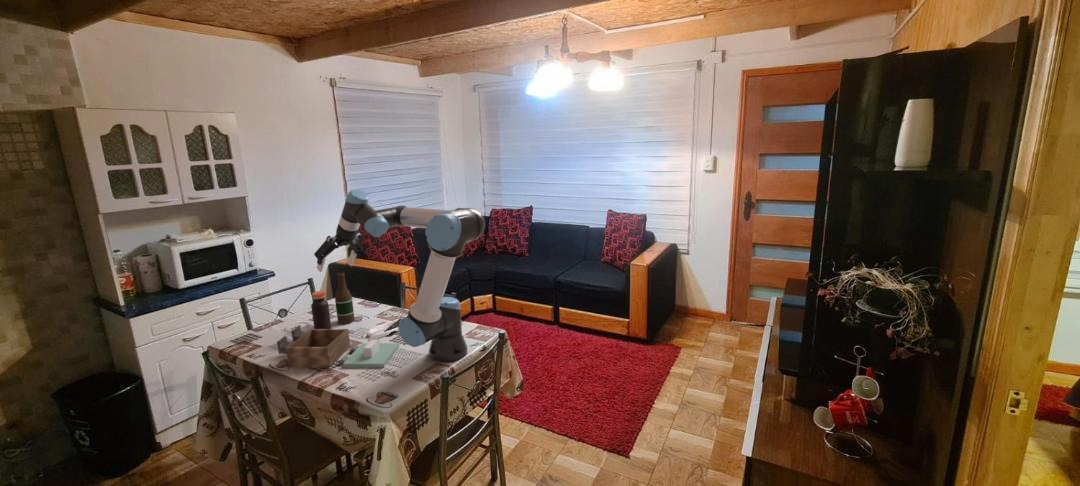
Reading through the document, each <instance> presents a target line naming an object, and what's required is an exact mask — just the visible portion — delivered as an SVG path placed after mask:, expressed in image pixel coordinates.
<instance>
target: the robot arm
mask: <svg viewBox="0 0 1080 486" xmlns="http://www.w3.org/2000/svg"><path fill="white" fill-rule="evenodd" d="M369 199H370V198H369V195H368V193H367V192H364V191H363V190H360V189H353V190H352V189H351V190H350V191H349V192H348V193H347V196H346V198H345V201H344V204H343V208H342V211H341V213H340V214H341V215H340V218H339V222H338V224H337V227H336V230H335V232H336V233H335V235H334V236H331V235H328V236H327V237H326V238H325V240H324V242H323V243H322V244H321V245H320V246H319V247H318V248H317V249H316V251H314V253H313V256H314V257H315V258H316V259H317V260H316V263H317V265H316V269H317V270H318V271H319V273H321V272H322V273H323V269H324V265H325V263H326V257H328V256H329V255H330V254H331V253H332V252H333V251H334V250H336V249H339V248H340V247H344V246H348V245H349V246H351V248H352V250H351V252H350V255H349V257H348V261H347V263H348V264H349V265H350V267H353V266H354V263H355V261H356V259H357V258H358V256H359V255H361V253H363V252H364V251H365V249H364V245H363V241H362V239H363V235H362V234H361V233H360V232H359V229H360V226H361V227H362V228H363V229H364V230H365V231H366V232H367V233H369V234H370V235H371V236H372V237H374V238H375V237H376V238H379V237H382V236H383V235H385V234H386V233H387V232H388V230H389V229H390V228H394V227H411V228H418V229H425V237H427V238H426V242H427V243H428V248H429V249H430V250H431V251H430V254H429V258H428V261H427V265H426V267H425V271H424V274H423V277H422V280H421V284H420V287H419V291H418V294H417V297H416V302H413V303H412V304H411V305H410V306H409V309H408V313H407V315H406V316H405V317H404V318H403V317H401V318H402V319H401V320H400V321H399V323H398V325H397V327H398V330H399V331H398V333H399V335H400V337H401V339H402V340H403V341H404V343H406V345H408V346H409V347H414V348H417V347H420V346H422V345H423V346H424V345H425V344H427V343H428V342H430V345H429V349H428V355H429V356H428V357H429V359H431V360H432V361H434V362H435V361H436V362H438V363H439V362H442V363H446V362H454V361H458V360H460V359H462V358H464V357H465V356H467V354H468V346H467V345H468V344H467V343H466V340H465V338H464V335H463V330H462V313H461V312H462V311H461V310H462V309H461V303H460V300H459V299H457V298H455V297H452V296H451V297H450V296H444V295H445V291H446V289H447V286H448V284H449V283H448V282H449V280H450V276H451V274H452V271H453V268H454V265H455V261H456V259H457V258H460V257H461V256H462V254H463V252H464V249H465V247H466V244H467V243H469V242H470V243H471V242H474V241H475V240H478V239H479V238H480V237H481V236H482V235H483V234H484V231H485V228H486V220H485V218H484V216H483V214H482V212H481V211H479V210H478V209H476V208H473V207H457V208H455V209H454V210H453V209H438V208H437V209H436V208H423V207H421V208H420V207H410V206H409V205H405V204H404V205H398V206H393V207H388V208H383V209H382V208H381V209H377V210H376V209H374V208H373V207H372V206H371V205H370V204H369ZM354 240H356V245H357V246H356V245H355V244H354V242H353V241H354Z"/></svg>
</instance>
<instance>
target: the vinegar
mask: <svg viewBox="0 0 1080 486" xmlns="http://www.w3.org/2000/svg"><path fill="white" fill-rule="evenodd" d="M311 297H312V300H313V301H312V303H311V304H310V306H311V314H312V322H313V329H332V323H331V315H330V307H329V301H327V300H326V299H325V298H326V295H325V291H323V290H320V291H314V292H312V293H311Z"/></svg>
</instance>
